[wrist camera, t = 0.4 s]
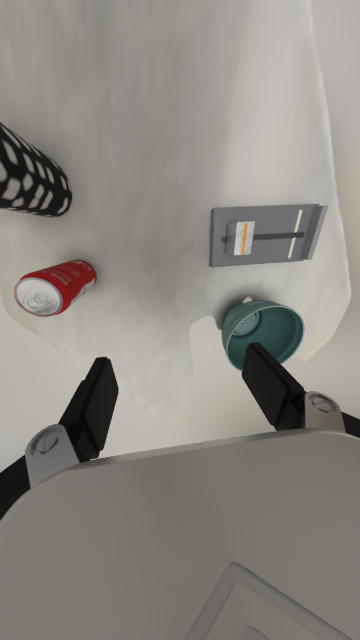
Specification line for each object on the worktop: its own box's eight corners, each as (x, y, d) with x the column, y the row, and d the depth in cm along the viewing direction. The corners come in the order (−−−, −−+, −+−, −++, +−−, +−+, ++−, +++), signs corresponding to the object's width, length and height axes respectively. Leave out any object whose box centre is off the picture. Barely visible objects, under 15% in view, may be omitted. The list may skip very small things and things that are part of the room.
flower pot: (205, 300, 39) (221, 320, 29) (271, 280, 38) (309, 295, 29) (216, 351, 46) (231, 381, 36) (271, 335, 46) (301, 361, 36)
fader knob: (227, 223, 30) (237, 222, 26) (243, 223, 30) (255, 221, 26) (225, 253, 32) (234, 255, 28) (240, 252, 32) (250, 254, 29)
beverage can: (59, 266, 32) (-12, 287, 18) (89, 253, 31) (37, 264, 18) (79, 293, 34) (29, 328, 21) (106, 281, 34) (73, 309, 21)
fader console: (211, 209, 30) (218, 206, 27) (310, 205, 32) (329, 202, 28) (209, 265, 35) (215, 268, 31) (296, 259, 37) (310, 261, 33)
